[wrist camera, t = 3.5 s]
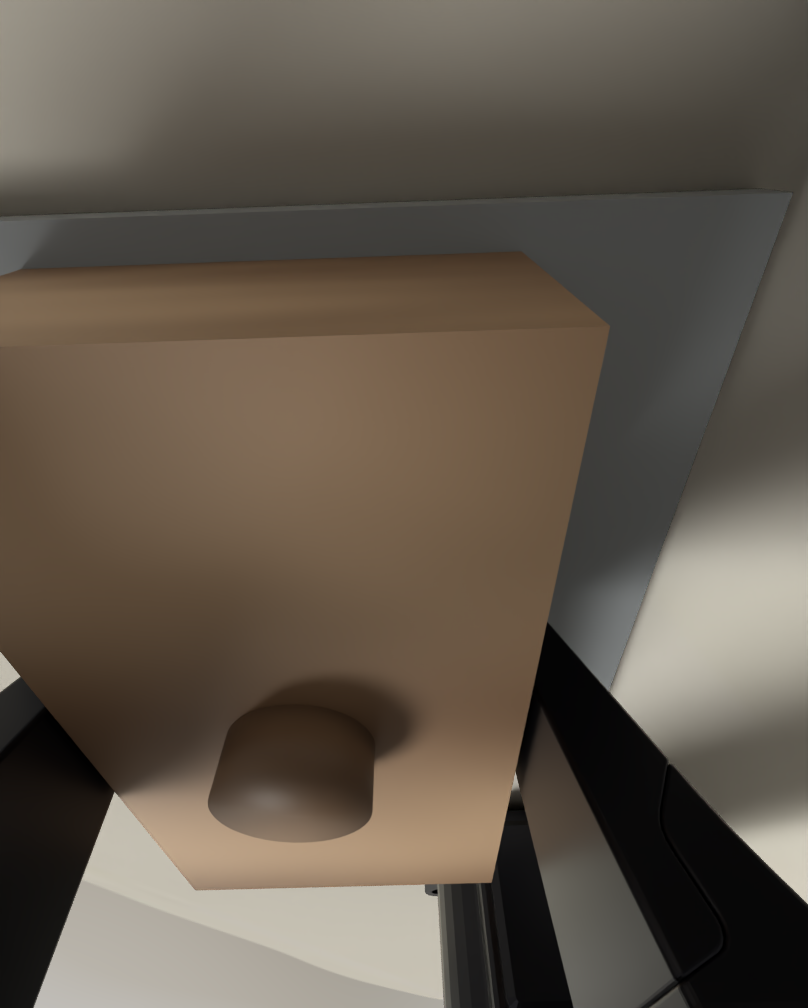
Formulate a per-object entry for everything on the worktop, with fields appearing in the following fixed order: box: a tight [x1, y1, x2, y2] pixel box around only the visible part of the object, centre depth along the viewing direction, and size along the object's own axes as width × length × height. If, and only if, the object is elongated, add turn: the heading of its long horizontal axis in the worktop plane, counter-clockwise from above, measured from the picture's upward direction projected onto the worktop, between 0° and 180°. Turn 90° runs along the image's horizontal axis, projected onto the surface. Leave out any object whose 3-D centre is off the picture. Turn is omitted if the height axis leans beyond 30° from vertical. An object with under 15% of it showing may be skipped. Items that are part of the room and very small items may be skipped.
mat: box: [0, 189, 793, 691], centre depth 9 cm, size 12×12×1 cm
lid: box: [0, 251, 610, 890], centre depth 8 cm, size 11×6×4 cm, turn 2°
